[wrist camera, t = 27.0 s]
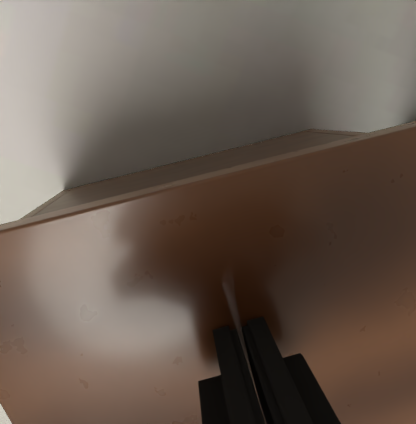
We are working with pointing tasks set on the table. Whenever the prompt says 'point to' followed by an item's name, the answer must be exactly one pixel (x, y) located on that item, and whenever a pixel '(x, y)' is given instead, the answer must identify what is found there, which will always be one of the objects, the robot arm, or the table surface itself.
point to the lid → (218, 287)
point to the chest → (190, 168)
